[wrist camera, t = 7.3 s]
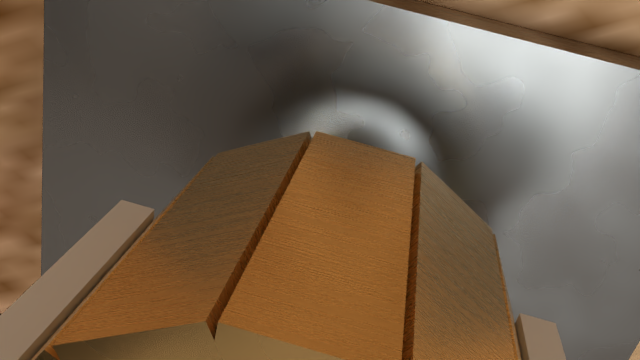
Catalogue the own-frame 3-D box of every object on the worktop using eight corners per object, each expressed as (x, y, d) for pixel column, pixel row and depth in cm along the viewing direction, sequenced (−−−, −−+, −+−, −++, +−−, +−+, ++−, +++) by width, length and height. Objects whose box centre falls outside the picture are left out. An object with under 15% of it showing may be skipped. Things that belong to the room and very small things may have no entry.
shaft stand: (73, 266, 22) (-58, 398, 16) (86, -84, 17) (-99, -77, 11) (559, 408, 21) (609, 603, 15) (739, 82, 16) (923, 189, 10)
